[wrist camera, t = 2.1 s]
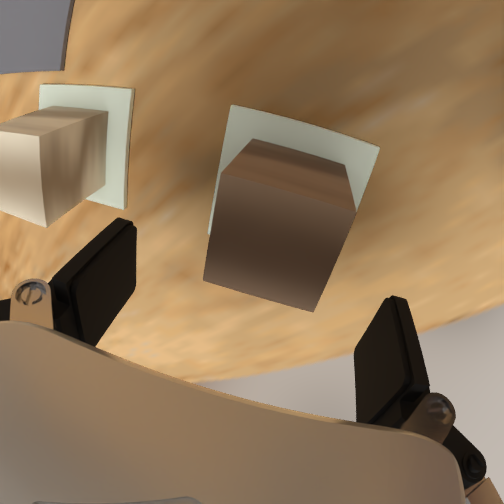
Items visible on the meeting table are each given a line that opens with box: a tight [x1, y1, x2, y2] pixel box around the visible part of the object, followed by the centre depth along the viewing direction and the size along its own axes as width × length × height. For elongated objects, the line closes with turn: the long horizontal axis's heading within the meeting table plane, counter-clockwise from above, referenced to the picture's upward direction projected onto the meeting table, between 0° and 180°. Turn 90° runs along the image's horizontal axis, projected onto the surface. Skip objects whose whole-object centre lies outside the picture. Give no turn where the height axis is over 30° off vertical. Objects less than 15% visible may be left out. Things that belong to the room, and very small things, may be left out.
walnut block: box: [203, 138, 357, 312], centre depth 15 cm, size 5×5×6 cm
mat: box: [0, 0, 74, 74], centre depth 13 cm, size 10×10×1 cm
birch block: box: [0, 106, 108, 228], centre depth 16 cm, size 5×5×6 cm
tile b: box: [39, 84, 135, 210], centre depth 18 cm, size 8×8×1 cm
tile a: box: [207, 105, 380, 234], centre depth 18 cm, size 8×8×1 cm
